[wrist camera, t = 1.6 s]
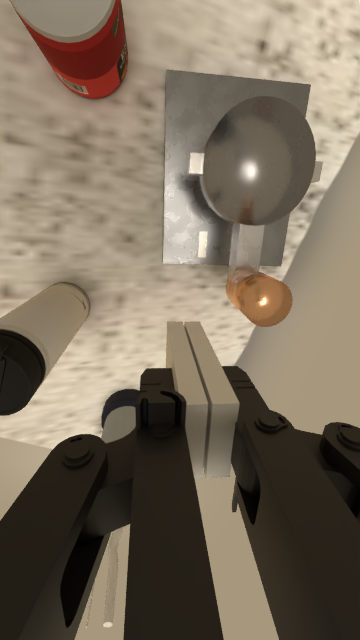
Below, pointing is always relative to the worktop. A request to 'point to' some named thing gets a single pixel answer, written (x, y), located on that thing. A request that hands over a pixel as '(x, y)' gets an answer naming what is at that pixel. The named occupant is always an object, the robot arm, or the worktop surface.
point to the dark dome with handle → (256, 192)
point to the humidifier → (115, 426)
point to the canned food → (79, 41)
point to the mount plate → (190, 137)
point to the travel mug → (37, 341)
